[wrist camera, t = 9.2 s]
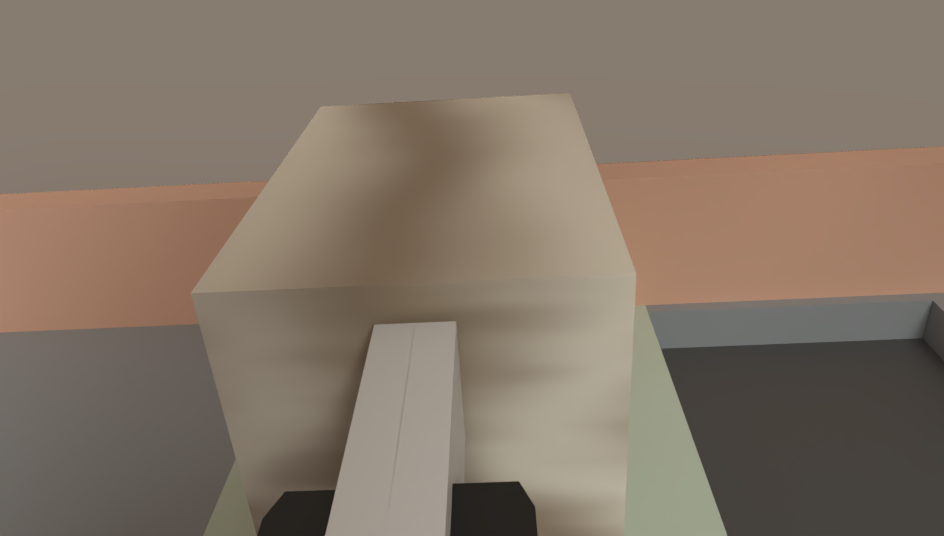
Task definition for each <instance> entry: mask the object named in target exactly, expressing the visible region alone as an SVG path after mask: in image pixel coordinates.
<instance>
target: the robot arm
mask: <svg viewBox="0 0 944 536" xmlns="http://www.w3.org/2000/svg"><path fill="white" fill-rule="evenodd" d="M464 472H465V426H464V413H463V400H462V388H461V375H460V362H459V350H458V337H457V324H456V321H447V322H424V323H399V324H376V325H374V327H373V331H372V336H371V340H370V344H369V349H368V353H367V357H366V362H365V366H364V370H363V375H362V379H361V383H360V387H359V392H358V396H357V400H356V405H355V409H354V413H353V418H352V422H351V426H350V430H349V435H348V439H347V443H346V448H345V452H344V456H343V461H342V465H341V469H340V474H339V478H338V482H337V486H336V490H313V491H285V492H284V493H283V495H282V496H281V497H280V498H279V499H278V501H277V502H276V503H275V504H274V505H273V507H272V508H271V509H270V510H269V511H268V513H267V514H266V515H265V516H264V517H263V519H262V522H261V525H260V528H259V531H258V534H257V536H538V533H537V522H536V510H535V506H534V504H533V503H532V501H531V499H530V498H529V496H528V495H527V493H526V492H525V490H524V488H523V487H522V485H521V484H520V482H519V481H512V482H484V483H464Z"/></svg>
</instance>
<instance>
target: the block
mask: <svg viewBox="0 0 944 536" xmlns="http://www.w3.org/2000/svg"><path fill="white" fill-rule="evenodd" d="M635 293H636V271H635V268H634V266H633V263H632V260H631V257H630V255H629V252H628V249H627V247H626V244H625V241H624V238H623V236H622V233H621V230H620V227H619V225H618V222H617V219H616V216H615V214H614V211H613V208H612V206H611V203H610V200H609V197H608V195H607V192H606V189H605V186H604V184H603V181H602V178H601V176H600V173H599V170H598V167H597V165H596V162H595V159H594V156H593V154H592V151H591V148H590V146H589V143H588V141H587V137H586V135H585V132H584V129H583V127H582V124H581V121H580V119H579V116H578V113H577V110H576V107H575V105H574V102H573V99H572V96H571V94H570V93H560V94H541V95H523V96H505V97H488V98H487V97H486V98H470V99H469V98H468V99H451V100H432V101H413V102H395V103H377V104H359V105H342V106H323V107H320V108H319V110H318V111H317V113H316V114H315V116H314V117H313V118H312V120H311V121H310V123H309V124H308V126H307V127H306V129H305V130H304V131H303V133H302V134H301V136H300V137H299V139H298V140H297V141H296V143H295V144H294V146H293V147H292V149H291V150H290V152H289V153H288V154H287V156H286V157H285V159H284V160H283V161H282V163H281V164H280V166H279V167H278V169H277V170H276V172H275V173H274V174H273V176H272V178H271V179H270V180H269V182H268V183H267V184H266V186H265V187H264V189H263V190H262V192H261V193H260V194H259V196H258V197H257V199H256V200H255V202H254V203H253V205H252V206H251V207H250V209H249V210H248V212H247V213H246V215H245V216H244V217H243V219H242V220H241V222H240V223H239V225H238V226H237V227H236V229H235V230H234V232H233V233H232V235H231V236H230V238H229V239H228V240H227V242H226V243H225V245H224V246H223V248H222V249H221V250H220V252H219V253H218V255H217V256H216V258H215V259H214V260H213V262H212V263H211V265H210V266H209V268H208V269H207V271H206V272H205V273H204V275H203V276H202V278H201V279H200V281H199V282H198V283H197V285H196V286H195V288H194V289H193V291H192V292H191V297H192V300H193V304H194V308H195V311H196V315H197V319H198V322H199V326H200V329H201V333H202V337H203V340H204V344H205V348H206V351H207V355H208V359H209V362H210V366H211V370H212V373H213V377H214V381H215V384H216V388H217V392H218V395H219V399H220V403H221V406H222V410H223V414H224V417H225V421H226V424H227V428H228V432H229V435H230V439H231V443H232V446H233V450H234V454H235V457H236V461H237V465H238V468H239V472H240V476H241V479H242V483H243V487H244V490H245V494H246V498H247V501H248V505H249V509H250V512H251V516H252V519H253V523H254V527H255V530H256V534H258V531H259V528H260V525H261V522H262V519H263V517H264V516H265V515H266V514H267V513H268V511H269V510H270V509H271V508H272V507H273V505H274V504H275V503H276V502H277V501H278V499H279V498H280V497H281V496H282V495H283V493H284V492H285V491H313V490H336V486H337V482H338V478H339V474H340V469H341V465H342V461H343V456H344V452H345V448H346V443H347V439H348V435H349V430H350V426H351V422H352V418H353V413H354V409H355V405H356V400H357V396H358V392H359V387H360V383H361V379H362V375H363V370H364V366H365V362H366V357H367V353H368V349H369V344H370V340H371V336H372V331H373V327H374V325H376V324H399V323H424V322H447V321H456V324H457V337H458V350H459V362H460V375H461V388H462V400H463V413H464V426H465V472H464V483H484V482H512V481H519V482H520V484H521V485H522V487H523V488H524V490H525V492H526V493H527V495H528V496H529V498H530V499H531V501H532V503H533V504H534V506H535V510H536V522H537V533H538V536H624V521H625V500H626V480H627V459H628V438H629V417H630V397H631V376H632V355H633V334H634V314H635Z"/></svg>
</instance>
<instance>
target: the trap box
mask: <svg viewBox="0 0 944 536" xmlns="http://www.w3.org/2000/svg"><path fill="white" fill-rule="evenodd" d="M596 165H597V167H598V170H599V173H600V176H601V178H602V181H603V184H604V186H605V189H606V192H607V195H608V197H609V200H610V203H611V206H612V208H613V211H614V214H615V216H616V219H617V222H618V225H619V227H620V230H621V233H622V236H623V238H624V241H625V244H626V247H627V249H628V252H629V255H630V257H631V260H632V263H633V266H634V268H635V271H636V293H635V314H634V334H633V355H632V376H631V397H630V417H629V438H628V459H627V480H626V500H625V521H624V536H944V146H941V147H920V148H901V149H882V150H863V151H842V152H822V153H803V154H784V155H783V154H782V155H763V156H744V157H725V158H704V159H686V160H665V161H647V162H646V161H645V162H628V163H627V162H625V163H606V164H596ZM268 182H269V181H252V182H233V183H213V184H193V185H174V186H154V187H135V188H115V189H95V190H76V191H59V192H58V191H57V192H37V193H17V194H0V536H257V534H256V530H255V527H254V523H253V519H252V516H251V512H250V509H249V505H248V501H247V498H246V494H245V490H244V487H243V483H242V479H241V476H240V472H239V468H238V465H237V461H236V457H235V454H234V450H233V446H232V443H231V439H230V435H229V432H228V428H227V424H226V421H225V417H224V414H223V410H222V406H221V403H220V399H219V395H218V392H217V388H216V384H215V381H214V377H213V373H212V370H211V366H210V362H209V359H208V355H207V351H206V348H205V344H204V340H203V337H202V333H201V329H200V326H199V322H198V319H197V315H196V311H195V308H194V304H193V300H192V297H191V292H192V291H193V289H194V288H195V286H196V285H197V283H198V282H199V281H200V279H201V278H202V276H203V275H204V273H205V272H206V271H207V269H208V268H209V266H210V265H211V263H212V262H213V260H214V259H215V258H216V256H217V255H218V253H219V252H220V250H221V249H222V248H223V246H224V245H225V243H226V242H227V240H228V239H229V238H230V236H231V235H232V233H233V232H234V230H235V229H236V227H237V226H238V225H239V223H240V222H241V220H242V219H243V217H244V216H245V215H246V213H247V212H248V210H249V209H250V207H251V206H252V205H253V203H254V202H255V200H256V199H257V197H258V196H259V194H260V193H261V192H262V190H263V189H264V187H265V186H266V184H267V183H268Z"/></svg>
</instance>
